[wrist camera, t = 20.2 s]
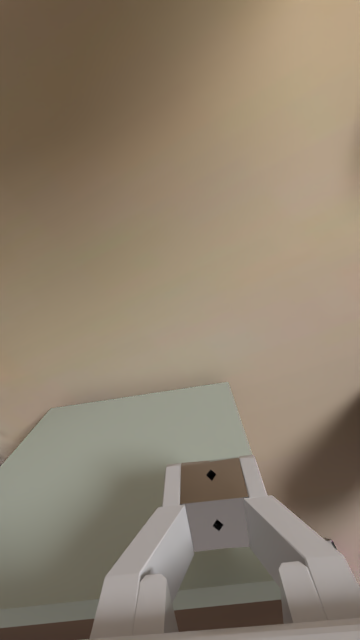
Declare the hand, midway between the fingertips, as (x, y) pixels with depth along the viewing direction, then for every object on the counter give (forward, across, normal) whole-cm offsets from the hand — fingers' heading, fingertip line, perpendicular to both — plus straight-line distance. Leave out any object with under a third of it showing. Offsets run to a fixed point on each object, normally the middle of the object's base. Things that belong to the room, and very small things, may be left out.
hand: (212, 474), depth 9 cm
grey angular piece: (+11, +5, +10) cm, 16 cm away
